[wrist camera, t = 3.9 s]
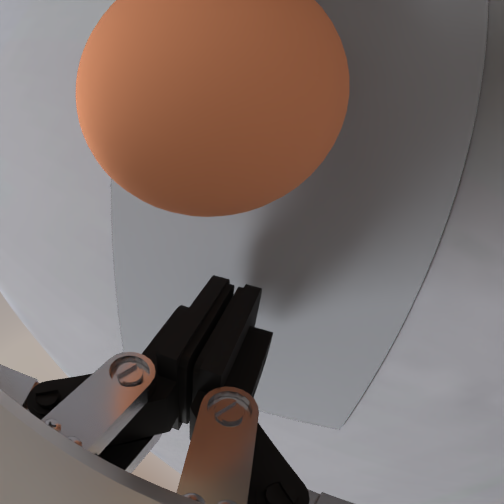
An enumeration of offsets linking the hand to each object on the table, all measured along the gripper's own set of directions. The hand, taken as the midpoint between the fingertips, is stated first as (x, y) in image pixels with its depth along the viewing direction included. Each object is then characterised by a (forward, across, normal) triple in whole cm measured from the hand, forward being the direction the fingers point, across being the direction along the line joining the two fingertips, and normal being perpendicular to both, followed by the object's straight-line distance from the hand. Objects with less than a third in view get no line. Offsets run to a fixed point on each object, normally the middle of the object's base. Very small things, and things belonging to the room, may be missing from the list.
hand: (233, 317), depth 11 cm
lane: (+2, 0, -9) cm, 9 cm away
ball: (-1, +1, -7) cm, 7 cm away
